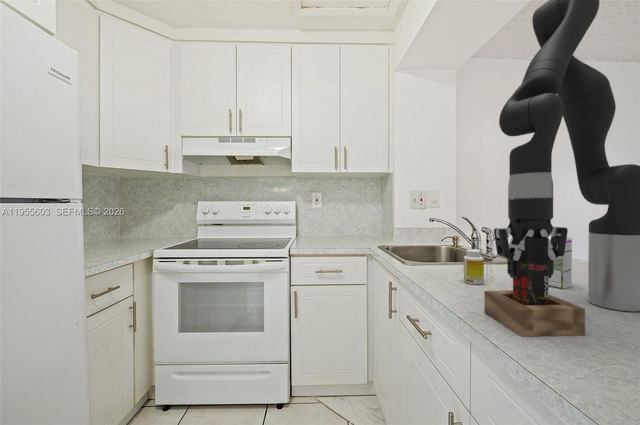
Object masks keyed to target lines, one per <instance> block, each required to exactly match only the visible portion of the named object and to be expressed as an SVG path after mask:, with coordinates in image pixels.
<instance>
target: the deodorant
mask: <svg viewBox="0 0 640 425" xmlns="http://www.w3.org/2000/svg"><path fill="white" fill-rule="evenodd" d="M522 239H523V238H520V240H517V239H513V244H514V245H519V244H520V242H521V240H522ZM524 243H525V244H524V245H525V249H524V251H522V252H521V256H520V258H519V260H518V261H520V278H519V279H514V278H512V290H513V300H514V301H516V302H518V303H521V304H523V305H548V294H549V286H548V238H540V237H539V238H524ZM514 251H515V249H514Z"/></svg>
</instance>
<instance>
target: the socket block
mask: <svg viewBox="0 0 640 425" xmlns="http://www.w3.org/2000/svg"><path fill="white" fill-rule="evenodd" d="M483 293H484V294H483V295H484V298H483V300H484V314H486V315H487V316H489V317H490V318H492V319H493V320H495V321H497V322H498V323H500V324H501V325H503V326H504V327H506V328H508V329H509V330H510V331H513V332H514V333H515V334H517V335H518V336H521V337H550V336H551V335H563V336H585V335H586V308H585V307H582V306H579V305H576V304H574V303H571V302H569V301H566V300H564V299H562V298H558V297H557V296H553V295H551V294H549V293H548V305H523V304H521V303H518V302H516V301H514V300H513V289H512V290H510V289H509V290H484V292H483ZM551 337H552V336H551Z"/></svg>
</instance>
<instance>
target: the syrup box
mask: <svg viewBox="0 0 640 425" xmlns="http://www.w3.org/2000/svg"><path fill="white" fill-rule="evenodd" d="M548 238H549V240H550V241H551V235H549V237H548ZM557 247H558V245H557ZM572 256H573V239H572V237H567V239H566V246H565V252H564V256H562V257H560V256H559V257H556V258H555V259H554V273H553V275H552V277H551V278H548V287H552V288H557V289H562V290H565V289H568V288H571V287H572V286H573V276H572V274H573V273H572V272H573V271H572V270H573V269H572V266H573V265H572V264H573V260H572V259H573V257H572Z"/></svg>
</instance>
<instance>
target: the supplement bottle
mask: <svg viewBox="0 0 640 425" xmlns="http://www.w3.org/2000/svg"><path fill="white" fill-rule="evenodd" d="M484 265H485V258H484V257H483V256H482V251H481V250H479V249H467V250H466V255H464V256H463V281H464V283H466V284H470V285H482V284H484V282H485V271H484V270H485V266H484Z"/></svg>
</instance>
